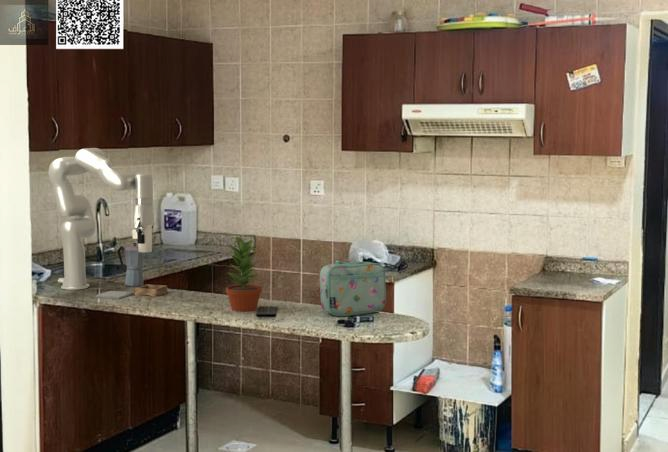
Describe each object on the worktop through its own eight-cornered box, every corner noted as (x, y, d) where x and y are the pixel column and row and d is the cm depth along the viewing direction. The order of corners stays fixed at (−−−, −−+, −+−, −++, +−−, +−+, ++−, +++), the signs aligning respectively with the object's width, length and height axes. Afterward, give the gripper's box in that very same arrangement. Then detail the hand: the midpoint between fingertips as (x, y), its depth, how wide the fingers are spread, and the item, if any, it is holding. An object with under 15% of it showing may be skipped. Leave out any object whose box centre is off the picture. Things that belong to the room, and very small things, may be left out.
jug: (130, 251, 437) (129, 224, 436) (136, 249, 443) (136, 223, 441) (147, 252, 434) (147, 225, 433) (154, 250, 440) (154, 223, 438)
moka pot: (144, 287, 456) (143, 244, 454) (113, 286, 460) (112, 243, 457) (152, 283, 466) (151, 241, 464) (121, 283, 469) (120, 241, 467)
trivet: (95, 297, 433) (95, 295, 433) (110, 292, 444) (110, 290, 444) (119, 298, 429) (119, 297, 429) (133, 294, 440) (133, 292, 440)
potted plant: (249, 314, 395) (247, 239, 391) (219, 310, 403) (217, 236, 399) (270, 307, 407) (270, 235, 404) (241, 304, 415) (240, 233, 412)
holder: (134, 295, 437) (134, 288, 437) (146, 291, 447) (146, 284, 447) (155, 296, 434) (155, 289, 434) (167, 292, 444) (167, 285, 443)
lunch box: (326, 318, 385) (326, 264, 383) (316, 314, 395) (316, 260, 392) (388, 313, 396) (388, 259, 393) (376, 308, 405) (376, 256, 403)
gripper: (146, 199, 445) (146, 239, 447) (126, 203, 428) (127, 244, 431) (161, 200, 442) (161, 240, 444) (142, 203, 426) (142, 245, 428)
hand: (144, 242), depth 437 cm, fingers closed on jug, 6 cm apart
